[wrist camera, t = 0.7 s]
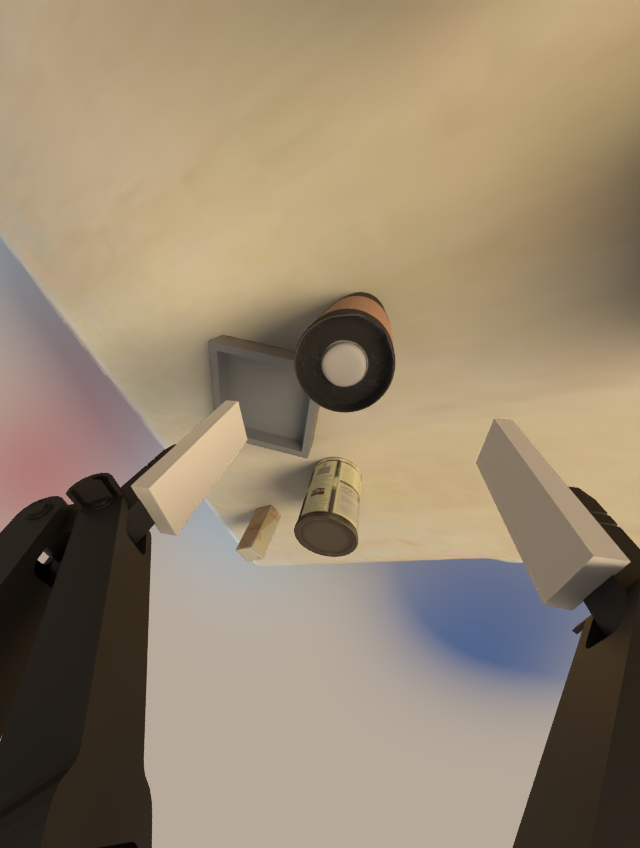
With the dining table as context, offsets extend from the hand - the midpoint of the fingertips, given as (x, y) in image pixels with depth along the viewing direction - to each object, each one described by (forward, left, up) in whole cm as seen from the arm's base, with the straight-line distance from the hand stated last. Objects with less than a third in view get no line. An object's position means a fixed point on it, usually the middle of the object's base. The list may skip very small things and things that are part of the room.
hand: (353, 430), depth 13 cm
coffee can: (+29, +1, -26) cm, 39 cm away
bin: (+14, -14, -26) cm, 33 cm away
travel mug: (-1, -2, -26) cm, 26 cm away
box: (+47, -13, -26) cm, 55 cm away
